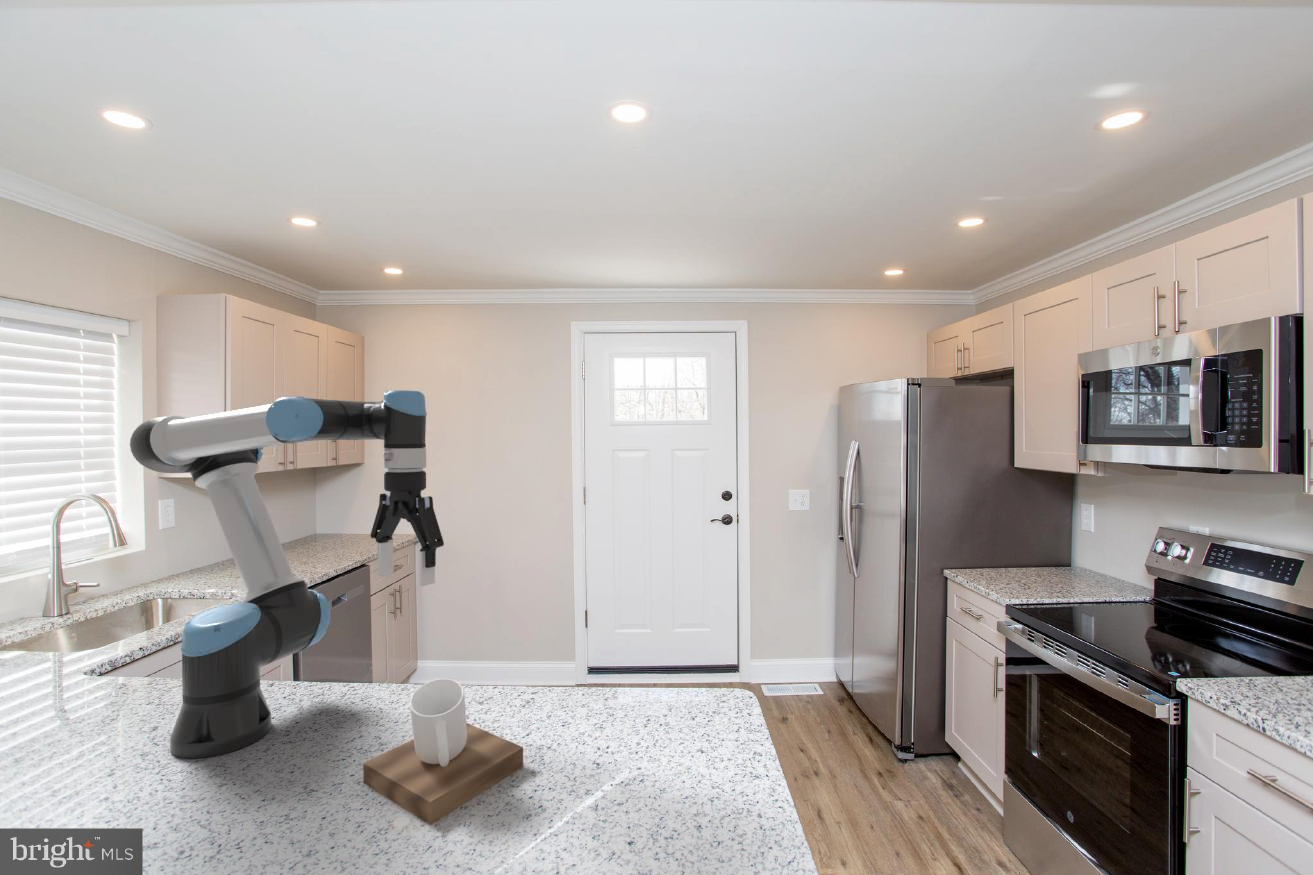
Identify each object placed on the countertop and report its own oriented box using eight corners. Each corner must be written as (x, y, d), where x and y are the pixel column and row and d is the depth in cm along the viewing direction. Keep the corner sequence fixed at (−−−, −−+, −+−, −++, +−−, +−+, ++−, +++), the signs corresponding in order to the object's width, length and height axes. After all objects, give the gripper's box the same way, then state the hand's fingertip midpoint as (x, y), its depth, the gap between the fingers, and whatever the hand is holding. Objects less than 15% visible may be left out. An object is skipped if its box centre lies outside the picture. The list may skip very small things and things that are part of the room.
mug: (473, 775, 93) (470, 725, 90) (417, 792, 90) (411, 741, 87) (464, 720, 104) (461, 673, 100) (414, 733, 100) (408, 685, 97)
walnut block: (363, 787, 96) (363, 763, 96) (456, 739, 110) (456, 718, 110) (430, 829, 85) (430, 802, 85) (523, 770, 100) (523, 747, 100)
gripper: (351, 469, 117) (352, 574, 118) (427, 473, 104) (428, 593, 104) (386, 467, 124) (387, 567, 124) (462, 471, 110) (463, 584, 110)
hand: (405, 579), depth 114 cm, fingers open, 13 cm apart
